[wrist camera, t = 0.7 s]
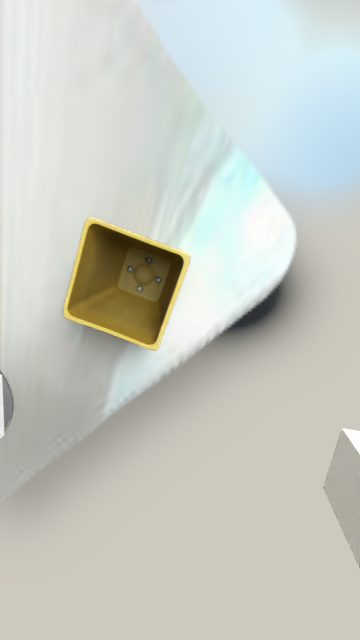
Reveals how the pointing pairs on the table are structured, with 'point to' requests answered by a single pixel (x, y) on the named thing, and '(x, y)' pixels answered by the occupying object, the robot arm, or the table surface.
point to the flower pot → (124, 283)
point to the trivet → (7, 402)
